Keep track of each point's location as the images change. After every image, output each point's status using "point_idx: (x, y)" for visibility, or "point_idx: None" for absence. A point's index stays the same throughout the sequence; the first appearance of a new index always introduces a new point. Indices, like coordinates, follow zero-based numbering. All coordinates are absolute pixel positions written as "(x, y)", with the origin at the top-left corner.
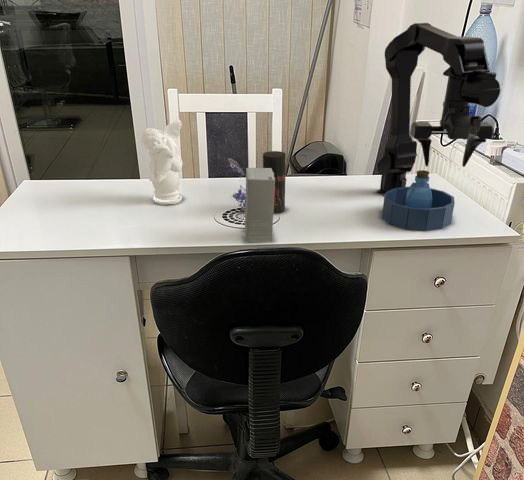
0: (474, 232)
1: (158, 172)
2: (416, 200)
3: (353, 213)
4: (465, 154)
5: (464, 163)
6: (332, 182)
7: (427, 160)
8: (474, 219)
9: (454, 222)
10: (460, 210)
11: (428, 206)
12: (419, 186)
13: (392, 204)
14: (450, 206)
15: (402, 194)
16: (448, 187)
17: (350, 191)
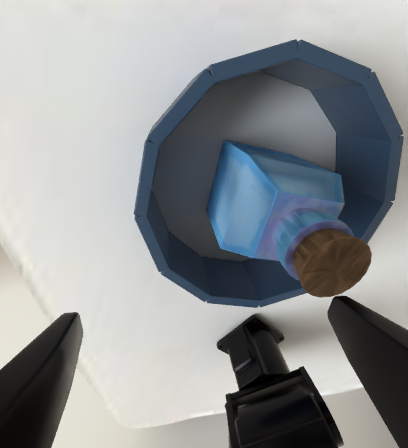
0: (71, 23)
1: None
2: (304, 165)
3: (393, 215)
4: (33, 435)
5: (63, 330)
6: (342, 371)
7: (383, 323)
8: (58, 168)
9: (134, 141)
10: (97, 243)
11: (248, 151)
12: (316, 210)
13: (401, 136)
14: (171, 107)
15: (278, 278)
16: (106, 378)
17: (331, 336)
